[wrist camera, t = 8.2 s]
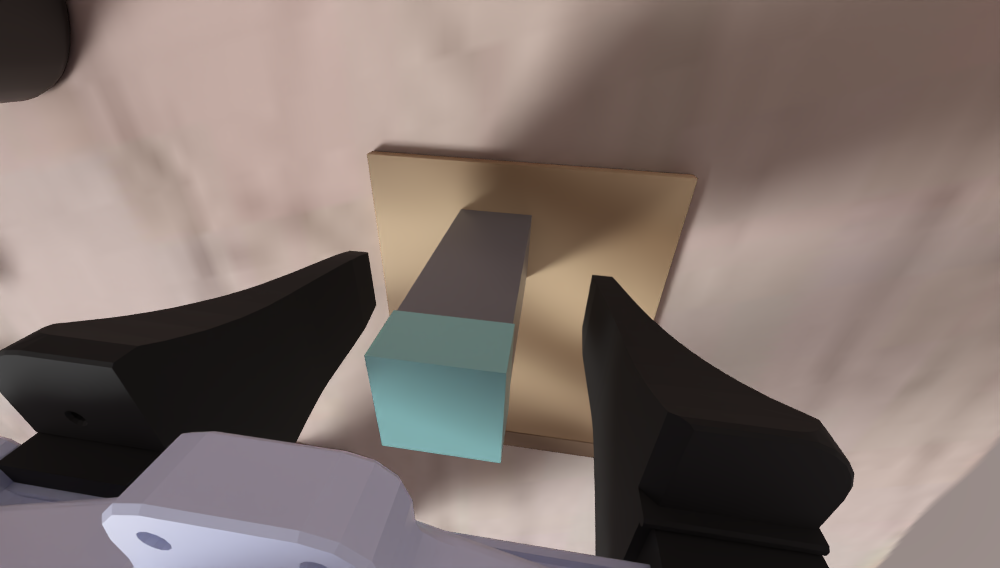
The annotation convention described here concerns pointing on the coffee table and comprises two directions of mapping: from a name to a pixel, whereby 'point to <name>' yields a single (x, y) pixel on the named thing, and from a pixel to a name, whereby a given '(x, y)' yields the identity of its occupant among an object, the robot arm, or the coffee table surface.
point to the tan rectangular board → (538, 261)
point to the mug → (32, 47)
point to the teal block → (454, 342)
